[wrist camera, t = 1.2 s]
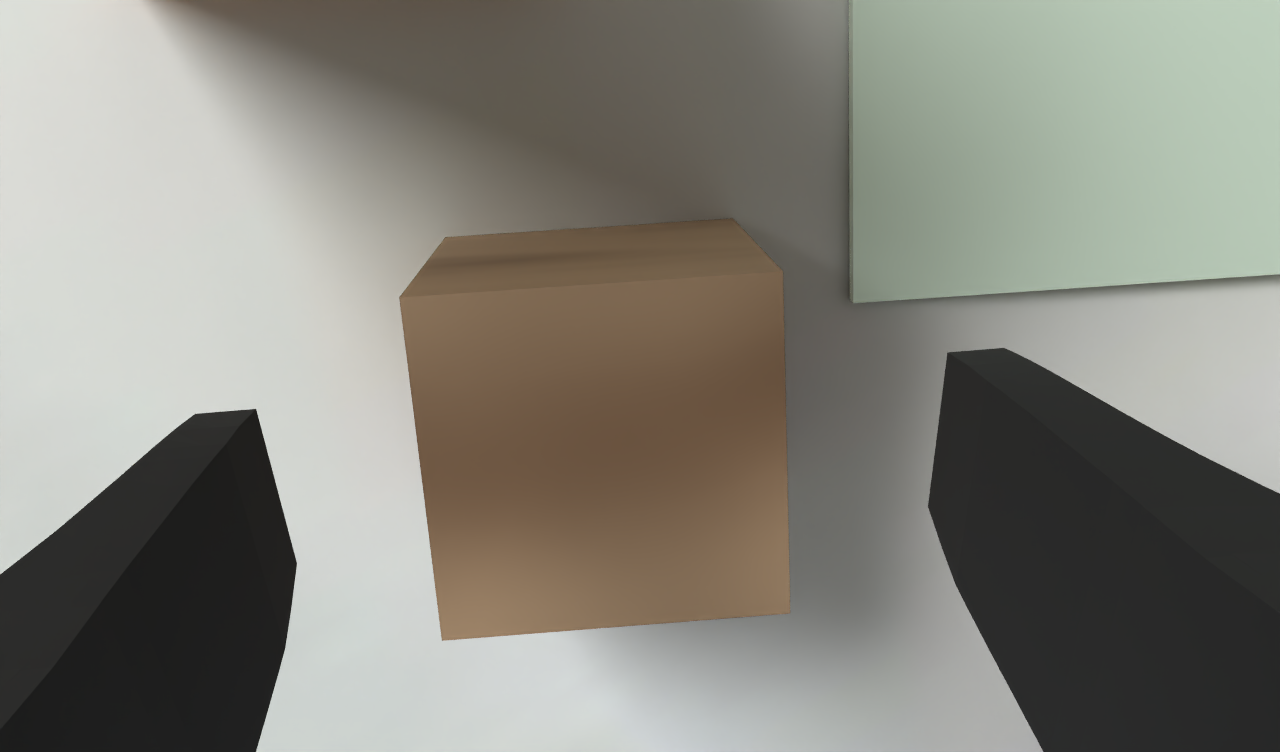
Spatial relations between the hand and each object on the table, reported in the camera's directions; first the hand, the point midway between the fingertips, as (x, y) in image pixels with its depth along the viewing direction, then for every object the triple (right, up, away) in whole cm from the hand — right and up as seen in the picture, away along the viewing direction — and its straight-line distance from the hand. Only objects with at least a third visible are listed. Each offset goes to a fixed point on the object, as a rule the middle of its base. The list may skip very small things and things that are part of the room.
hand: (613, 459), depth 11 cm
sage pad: (+9, +7, +9) cm, 15 cm away
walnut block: (-1, +1, +10) cm, 10 cm away
